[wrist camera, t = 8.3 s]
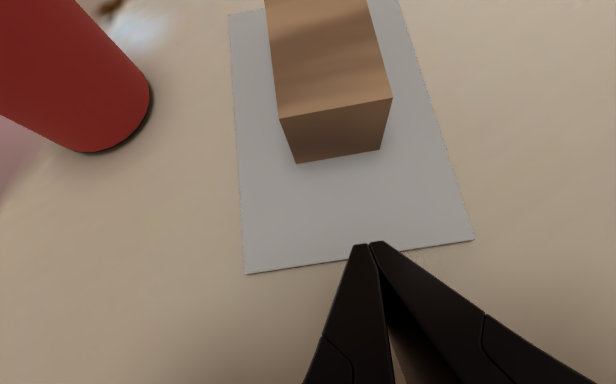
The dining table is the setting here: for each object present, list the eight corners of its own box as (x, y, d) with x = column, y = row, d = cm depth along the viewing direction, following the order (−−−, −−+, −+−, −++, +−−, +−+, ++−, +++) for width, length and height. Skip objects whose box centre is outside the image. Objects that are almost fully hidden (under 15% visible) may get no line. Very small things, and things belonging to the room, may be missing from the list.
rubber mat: (471, 240, 14) (475, 239, 14) (247, 274, 15) (244, 274, 14) (390, -14, 20) (391, -20, 19) (230, 20, 20) (228, 15, 20)
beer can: (86, 63, 21) (-230, -213, 9) (170, 74, 19) (-74, -228, 8) (41, 147, 19) (-422, -69, 7) (131, 164, 18) (-257, -62, 6)
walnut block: (393, 97, 11) (346, -71, 15) (278, 118, 12) (257, -52, 15) (379, 149, 16) (345, 10, 19) (296, 164, 16) (277, 24, 19)
